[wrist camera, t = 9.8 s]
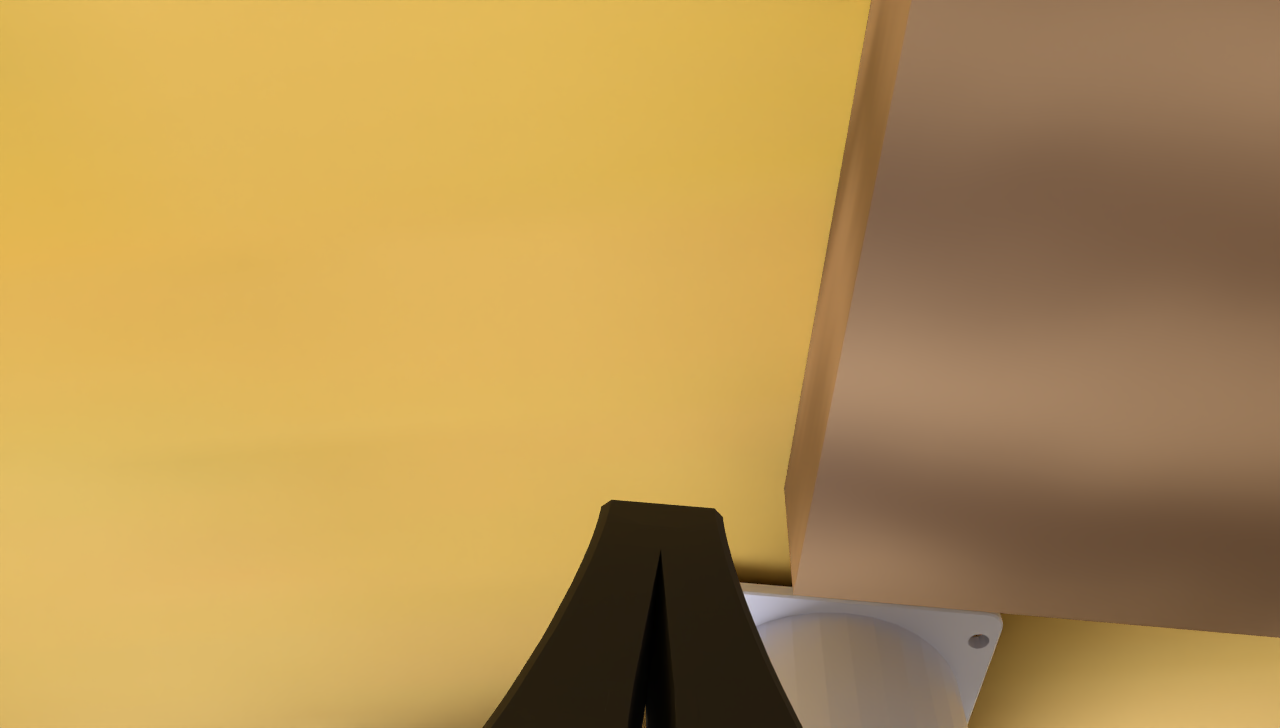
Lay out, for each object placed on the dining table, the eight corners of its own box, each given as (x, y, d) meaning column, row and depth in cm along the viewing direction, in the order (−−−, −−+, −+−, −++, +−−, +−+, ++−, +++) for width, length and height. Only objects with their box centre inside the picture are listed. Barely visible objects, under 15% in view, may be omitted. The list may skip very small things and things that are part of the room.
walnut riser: (1286, 531, 25) (1361, 644, 22) (784, 488, 25) (793, 594, 22) (1788, -399, 15) (2046, -418, 12) (952, -459, 15) (1008, -489, 12)
